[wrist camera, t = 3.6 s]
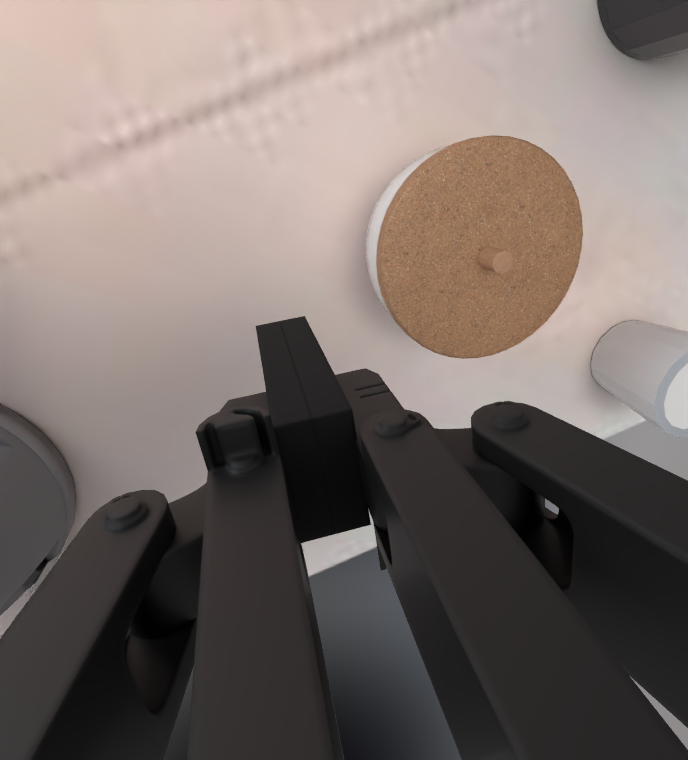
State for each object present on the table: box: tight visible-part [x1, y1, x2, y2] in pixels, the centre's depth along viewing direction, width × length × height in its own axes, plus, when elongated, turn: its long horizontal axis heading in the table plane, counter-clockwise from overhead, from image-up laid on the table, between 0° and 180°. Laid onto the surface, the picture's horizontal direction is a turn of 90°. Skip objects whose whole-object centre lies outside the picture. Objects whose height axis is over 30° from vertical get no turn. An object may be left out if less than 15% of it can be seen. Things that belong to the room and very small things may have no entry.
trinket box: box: [366, 136, 583, 358], centre depth 27 cm, size 11×11×9 cm
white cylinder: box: [591, 320, 688, 438], centre depth 35 cm, size 7×7×7 cm
